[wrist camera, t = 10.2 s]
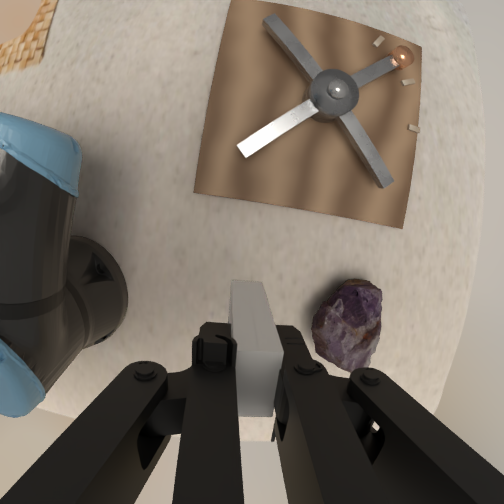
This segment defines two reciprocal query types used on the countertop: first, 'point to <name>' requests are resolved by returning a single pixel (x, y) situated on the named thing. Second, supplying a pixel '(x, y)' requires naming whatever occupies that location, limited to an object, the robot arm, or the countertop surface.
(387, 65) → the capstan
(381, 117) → the board
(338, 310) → the rock
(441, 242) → the countertop surface
